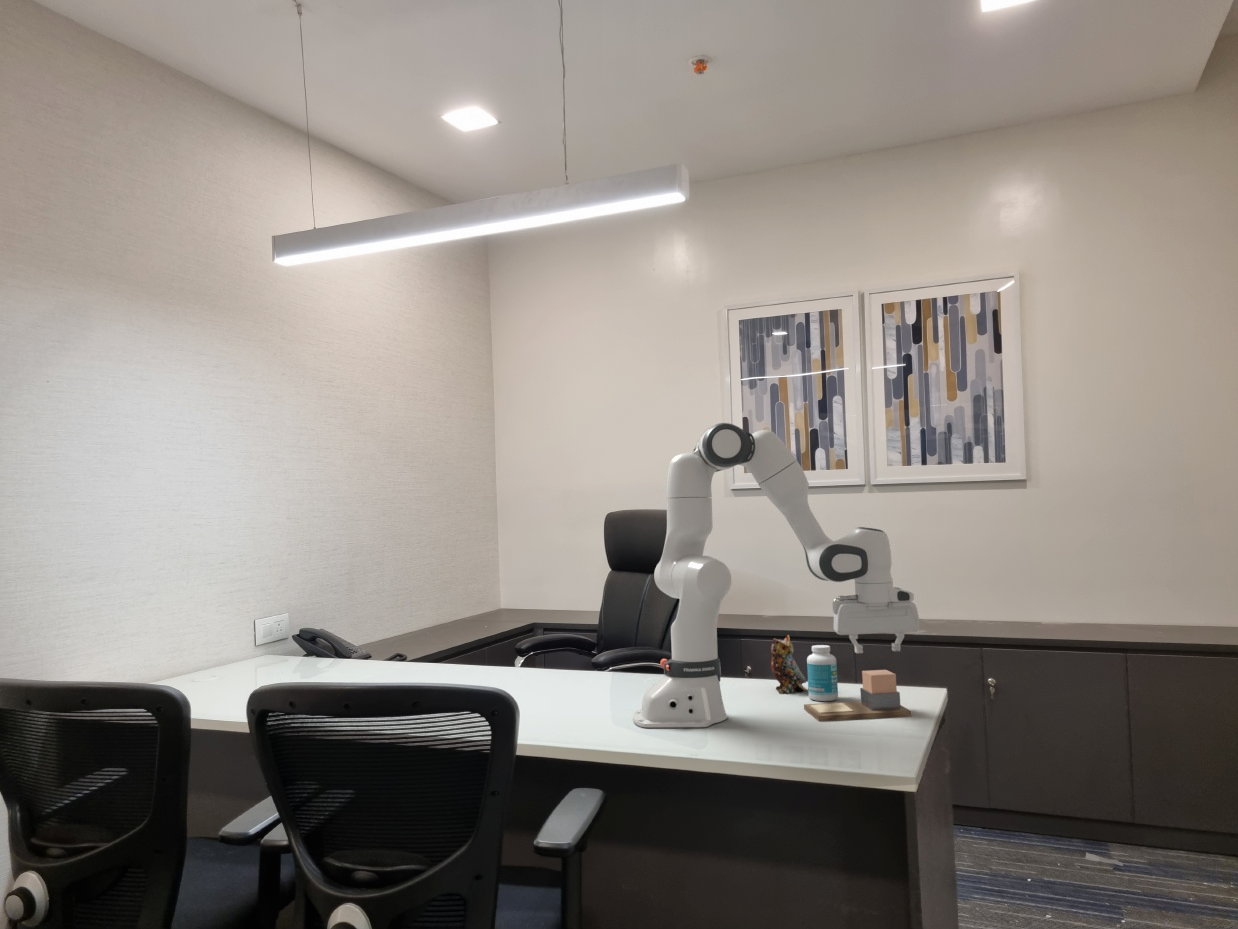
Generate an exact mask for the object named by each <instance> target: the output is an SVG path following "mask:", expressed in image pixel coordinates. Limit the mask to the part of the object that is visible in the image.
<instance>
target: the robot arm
mask: <svg viewBox="0 0 1238 929" xmlns="http://www.w3.org/2000/svg"><path fill="white" fill-rule="evenodd" d="M735 466H742V467H744V468H746V469H747V470H748V471H749V473H750V474H751V475H752V476H753V479H754V480H755V482H756V483H757V485H758V486H759V488H760V489H761V491H763V494H765V496H766V497H767V498H768V500H769V501H770V502H771V503H772V504H773V505H774V506H775V508H777V510H778V511H779V512H780V513H781V514H782V515H783V516H784V518H785V519H786V520H787V522H788V524H789V525H790V526H791V528H792V530H793V532H794V534H795V536H796V537H797V539H798V540H799V542H800V544H801V545H802V548H803V549H804V554H805V560H806V565H807V568H808V570H809V572H810V573H811V574H812V575H813V576H814V577H815V578H817V579H818V580H821V581H825V582H829V581H830V582H833V583H844V582H847V581H850V580H854V589H855V590H854V592H855V594H852V595H851V594H850V595H839V596H837V597H836V598H835V599H833V601H832V612H833V630H834V632H835V633H836V634H837V635H839V636H848V638H849V640H850V641H851V643H852V645H853V647H854V653H856V654H863V653H864V650H863V649H864V646H863V645H861V644H859V643H858V641H857V640H858V639H859V635H867V634H868V635H871V634H895V636H896V639H895V641H894V642H891V651H893V652H901V644H902V642H903V640H904V639H905V633H910V632H917V631H918V630H919V629H920V617H919V613H918V612H919V611H918V608H917V605H916V604H915V603H914V602H913V601H914V600H915V594H914V593H913V592H911V591H910V590H909V591H908V590H904V589H902V588H900V587H897V586H896V587H894V582H893V578H892V573H891V569H892V568H891V567H892V565H893V563H892V553H891V552H892V551H891V544H890V541H889V536H888V535H887V533H886V532H885V531H884V530H881V529H878V528H874V527H873V528H872V527H865V526H863V527H862V526H859V527H855V529H854V530H852V531H851V532H850V533H848V534H846V535H845V536H843V537H841V538H839V539H837V540H832V539H831V538H829V537H828V536H827V535H826V533H825V532H824V529H823V528H822V527H821V525H820V523H819V522H818V519H817V518H816V517H815V515H814V513H813V512H812V510H811V507H810V505H809V502H808V501H809V500H808V496H809V495H808V494H809V489H810V488H809V487H810V486H809V485H810V484H809V481H808V478H807V476H806V474H805V472H804V470H803V468H802V466H801V464H800V463H799V461H798V460H797V458H796V457H795V456H794V454H793V453H792V451H791V450H790V449H789V447H788V446H787V445H786V444H785V443H784V441H783V440H782V439H781V438H780V437H779V436H778V435H777V434H776V433H775V432H773V431H772V430H770V429H761V430H758V431H755V432H753V433H751V432H749V431H746V430H745V429H743V428H741V427H739V426H737V425H735V424H733V423H729V422H720V423H716V424H714V425H712V426H710V427H708V428H707V429H706V430H705V431H704V432H703V433H702V434H701V436H700V438H699V439H698V441H697V442H696V445H695V447H694V449H693V451H692V452H683V453H679V454H677V455H675V456H674V457H672V459H671V460H670V462H669V466H668V471H667V478H666V479H667V480H666V532H665V533H666V534H665V540H664V546H663V550H662V554H661V557H660V560H659V562H658V563H657V564H656V567H655V568H654V573H653V577H654V578H653V579H654V582H655V585H656V588H658V589H659V590H660V591H661V592H662V593H664V594H665V595H666V596H669V598H673V599H679V603H678V609H677V612H676V618H675V619H674V621H673V622H672V624H671V626H670V640H671V641H670V642H671V658H670V659H666V658H662V659H661V660H660V666H661V667H662V668H663V674H664V675H662V677H660V678H659V679H658V680H657V681H656V682H654V683H653V684H652V685H651V686H650V687H648V689H646V691H645V692H644V694H643V697H642V703H641V710H639V709H638V710H637V711H635V712H634V713H633V715H632V720H633V723H634V724H635V725H636V726H638V727H641V728H707V727H709V726H711V725H713V724H717V723H720V722H723V721H725V720H726V719H727V718H728V715H727V712H726V709H725V705H724V702H723V696H722V690H721V683H720V682H721V677H722V671H721V661H720V658H719V657H718V656H719V655H718V632H717V631H718V629H717V628H718V621H719V616H720V610H721V606H722V603H723V600H724V598H725V597H726V596H727V595H728V593H729V591H730V590H731V586H732V574H731V571H730V569H729V568H728V566H727V565H726V564H725V562H723V561H721V560H719V559H716V558H714V557H712V556H709V555H704V550H705V545H706V541H707V539H708V537H709V536H710V534H711V533H712V531H713V525H714V524H713V501H712V500H713V498H712V482H713V477H714V474H715V473H717V472H720V471H725V470H730V469H732V468H733V467H735Z"/></svg>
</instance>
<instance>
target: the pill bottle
mask: <svg viewBox="0 0 1238 929" xmlns="http://www.w3.org/2000/svg"><path fill="white" fill-rule="evenodd" d="M811 651H812V653H811V654H809V655H808V656H807V658H806V664H807V666H806V668H807V669H806V670H807V688H808V689H807V691H808V698H809V699H811V700H812V701H814V702H815V701H816V702H833V701H836V700H837V699H838V698H839V690H838V689H839V688H838V686H839V685H838V671H837V670H838V668H837V658H836V657H835V655H833V654H831V653H830V652H831V646H830V645H827V644H825V645H824V644H816V645H811Z"/></svg>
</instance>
